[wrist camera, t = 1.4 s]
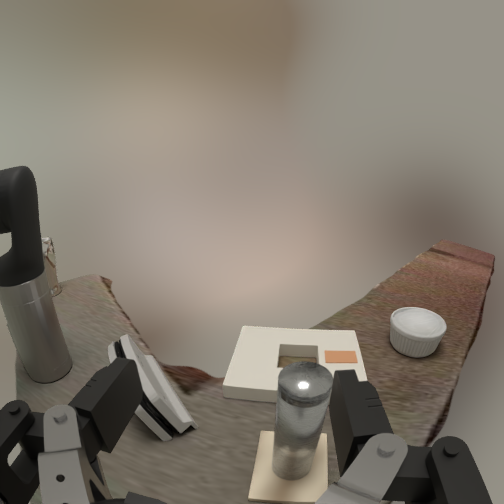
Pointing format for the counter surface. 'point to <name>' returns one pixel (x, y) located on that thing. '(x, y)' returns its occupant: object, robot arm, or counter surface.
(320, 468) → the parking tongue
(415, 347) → the ramekin
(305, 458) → the grey capped tube
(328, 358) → the hole plate
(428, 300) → the counter surface
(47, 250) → the beer glass
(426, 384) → the counter surface
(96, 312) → the counter surface
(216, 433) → the counter surface
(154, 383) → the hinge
